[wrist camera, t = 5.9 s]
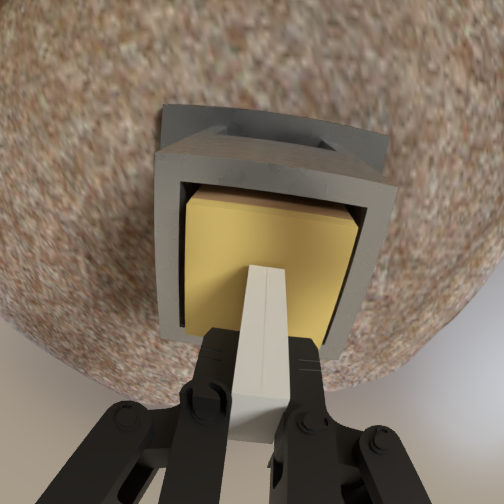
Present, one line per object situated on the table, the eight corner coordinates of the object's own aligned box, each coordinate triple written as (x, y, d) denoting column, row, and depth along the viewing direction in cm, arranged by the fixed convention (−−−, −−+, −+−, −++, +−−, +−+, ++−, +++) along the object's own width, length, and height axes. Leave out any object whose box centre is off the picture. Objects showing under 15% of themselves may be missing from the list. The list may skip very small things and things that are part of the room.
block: (223, 227, 28) (185, 334, 15) (230, 149, 24) (186, 203, 12) (300, 237, 28) (319, 350, 15) (314, 161, 24) (358, 227, 12)
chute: (162, 242, 31) (97, 341, 18) (166, 104, 25) (68, 115, 11) (352, 267, 31) (393, 378, 18) (385, 135, 25) (482, 176, 11)
